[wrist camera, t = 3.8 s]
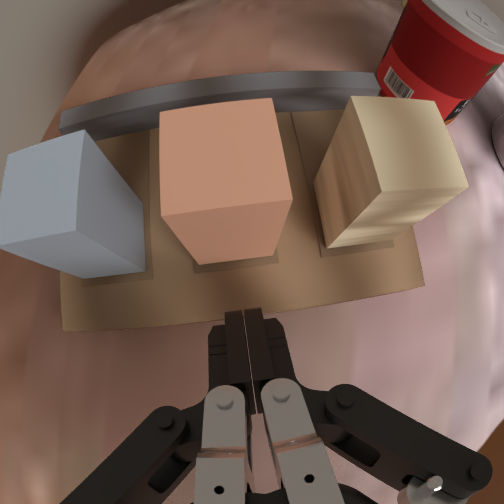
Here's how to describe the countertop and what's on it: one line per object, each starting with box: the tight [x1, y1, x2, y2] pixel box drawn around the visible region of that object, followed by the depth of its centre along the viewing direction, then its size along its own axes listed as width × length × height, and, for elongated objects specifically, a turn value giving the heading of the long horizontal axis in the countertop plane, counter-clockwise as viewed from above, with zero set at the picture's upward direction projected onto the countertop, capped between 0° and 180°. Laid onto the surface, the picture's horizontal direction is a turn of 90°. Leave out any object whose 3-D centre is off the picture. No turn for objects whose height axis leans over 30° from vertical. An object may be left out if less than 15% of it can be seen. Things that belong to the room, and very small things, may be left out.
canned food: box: [377, 0, 504, 125], centre depth 18 cm, size 8×8×11 cm
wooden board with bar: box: [58, 71, 425, 332], centre depth 19 cm, size 22×16×4 cm
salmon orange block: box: [159, 98, 293, 265], centre depth 14 cm, size 4×4×8 cm
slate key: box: [0, 129, 146, 279], centre depth 14 cm, size 4×4×8 cm
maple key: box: [313, 96, 469, 248], centre depth 14 cm, size 4×4×8 cm
